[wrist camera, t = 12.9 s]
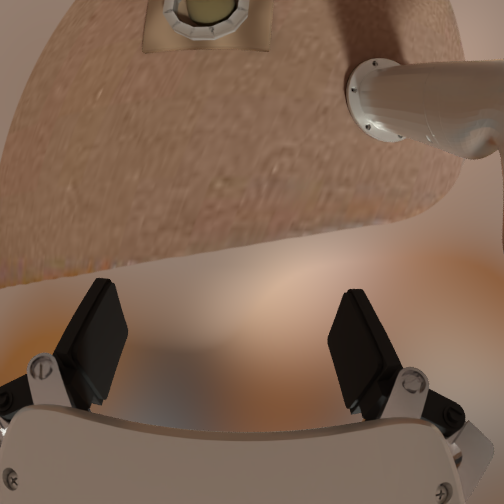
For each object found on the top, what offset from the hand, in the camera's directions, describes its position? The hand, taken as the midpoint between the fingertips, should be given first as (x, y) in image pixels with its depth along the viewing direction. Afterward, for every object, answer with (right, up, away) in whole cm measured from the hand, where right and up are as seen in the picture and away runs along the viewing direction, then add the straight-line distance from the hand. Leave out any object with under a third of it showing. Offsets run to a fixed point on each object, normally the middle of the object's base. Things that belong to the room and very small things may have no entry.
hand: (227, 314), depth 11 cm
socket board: (-5, +33, +13) cm, 36 cm away
